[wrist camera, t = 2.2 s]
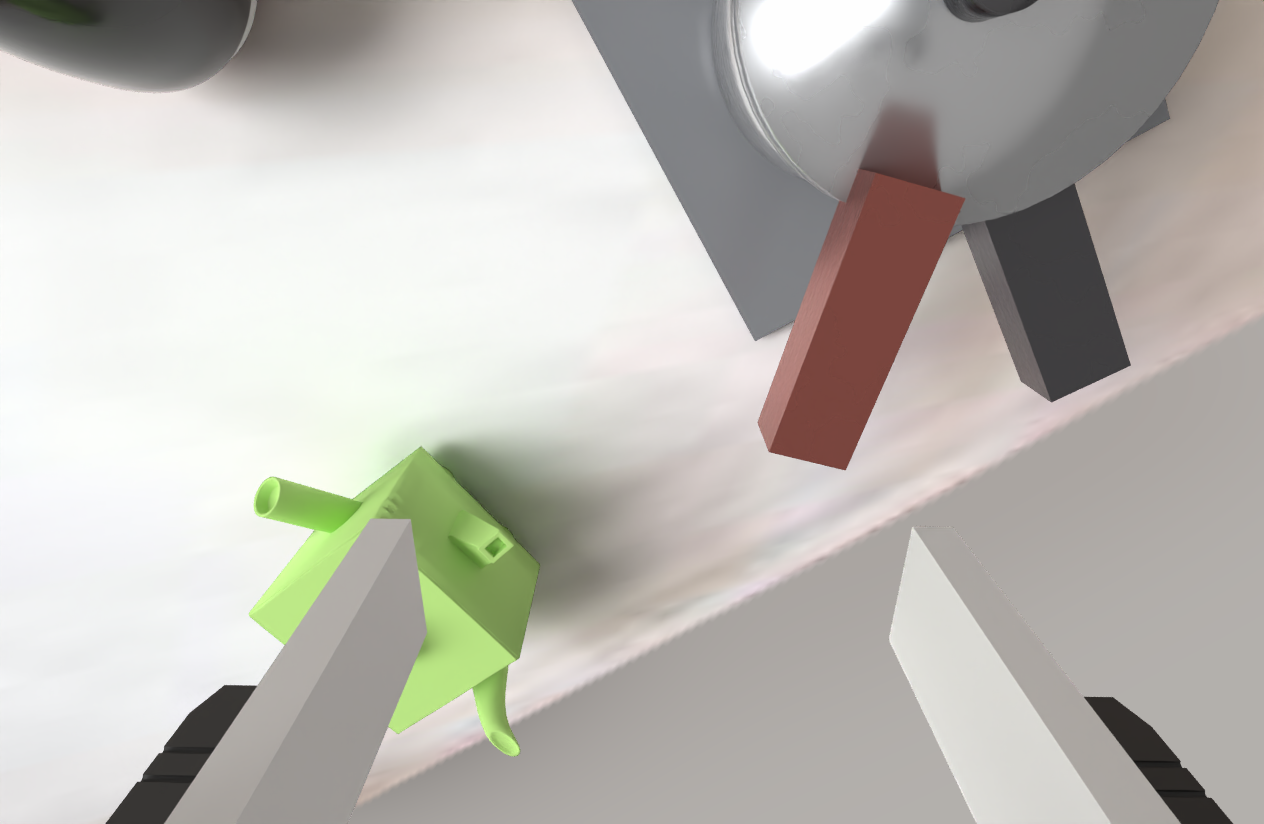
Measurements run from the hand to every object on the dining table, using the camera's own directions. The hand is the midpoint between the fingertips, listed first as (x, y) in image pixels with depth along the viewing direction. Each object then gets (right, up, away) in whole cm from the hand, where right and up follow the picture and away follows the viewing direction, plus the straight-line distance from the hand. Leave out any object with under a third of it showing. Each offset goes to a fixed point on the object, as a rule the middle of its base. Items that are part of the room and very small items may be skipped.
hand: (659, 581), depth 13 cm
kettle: (-13, -5, +31) cm, 34 cm away
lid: (+9, +13, +10) cm, 19 cm away
